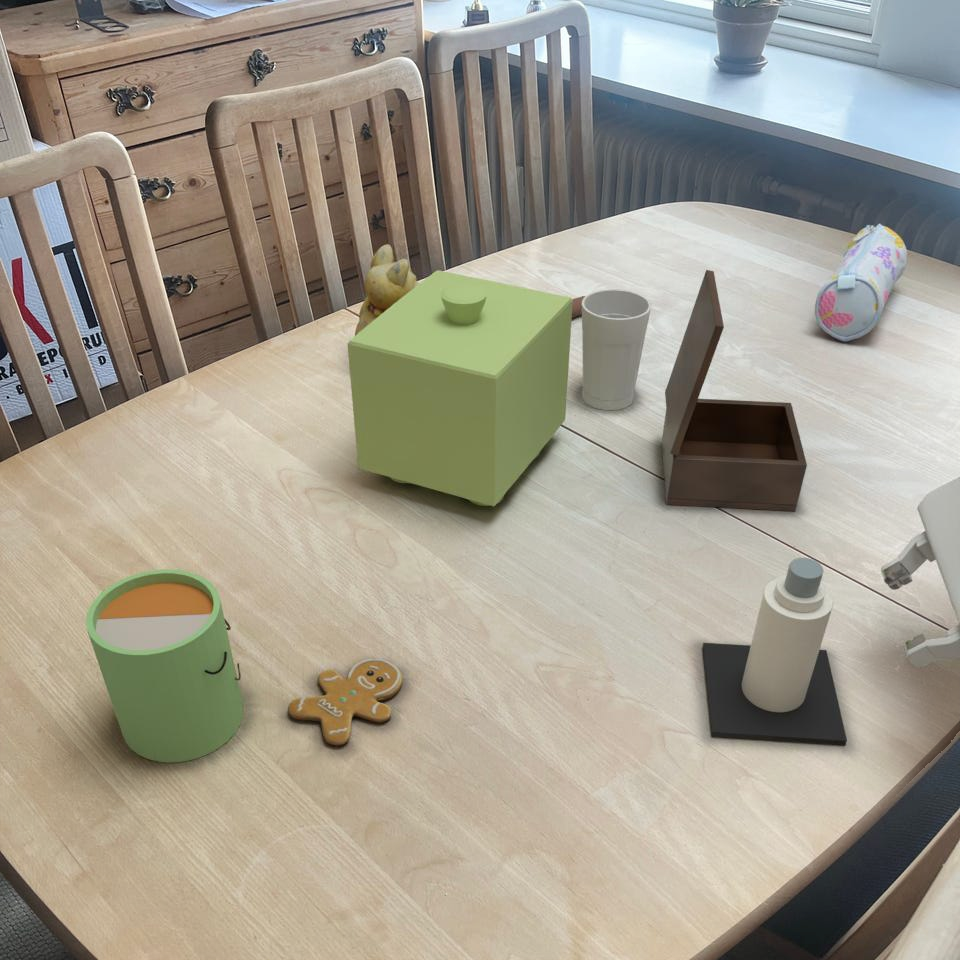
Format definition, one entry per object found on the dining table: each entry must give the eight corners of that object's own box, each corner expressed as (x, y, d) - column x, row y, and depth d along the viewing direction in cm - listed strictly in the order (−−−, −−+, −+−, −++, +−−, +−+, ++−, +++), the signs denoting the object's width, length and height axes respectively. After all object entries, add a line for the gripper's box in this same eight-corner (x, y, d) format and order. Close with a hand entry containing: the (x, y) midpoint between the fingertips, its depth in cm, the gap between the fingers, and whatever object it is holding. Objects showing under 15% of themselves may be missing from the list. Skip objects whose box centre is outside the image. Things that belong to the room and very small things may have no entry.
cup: (630, 378, 132) (640, 286, 124) (648, 410, 126) (660, 316, 118) (568, 383, 131) (574, 291, 123) (584, 416, 125) (591, 321, 117)
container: (440, 406, 127) (435, 242, 113) (564, 438, 121) (575, 270, 108) (359, 487, 114) (343, 313, 100) (494, 526, 109) (497, 348, 95)
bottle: (800, 670, 92) (836, 548, 83) (809, 714, 88) (847, 591, 79) (738, 666, 93) (767, 544, 83) (744, 710, 89) (775, 587, 79)
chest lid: (713, 271, 107) (706, 269, 107) (724, 326, 98) (715, 325, 98) (671, 394, 117) (664, 392, 117) (677, 455, 107) (669, 453, 107)
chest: (780, 447, 120) (791, 402, 116) (795, 511, 111) (807, 465, 107) (661, 441, 121) (667, 396, 117) (666, 504, 112) (673, 458, 108)
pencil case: (839, 279, 154) (854, 214, 147) (899, 291, 151) (918, 224, 144) (805, 338, 140) (820, 269, 133) (871, 352, 137) (890, 282, 131)
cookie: (275, 700, 89) (360, 639, 94) (276, 708, 89) (360, 647, 95) (342, 749, 85) (427, 682, 90) (343, 756, 85) (427, 690, 91)
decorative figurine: (435, 373, 133) (432, 257, 123) (379, 392, 129) (371, 274, 119) (396, 344, 139) (389, 230, 128) (341, 361, 135) (330, 246, 125)
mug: (242, 758, 85) (218, 651, 77) (111, 766, 85) (73, 658, 77) (254, 653, 95) (234, 547, 86) (137, 659, 94) (105, 553, 86)
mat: (825, 654, 95) (826, 649, 94) (845, 745, 86) (847, 740, 86) (702, 647, 95) (703, 642, 95) (711, 736, 87) (712, 731, 87)
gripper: (1009, 423, 83) (853, 517, 91) (1095, 587, 68) (901, 683, 76) (1046, 474, 86) (892, 560, 93) (1137, 641, 71) (945, 729, 78)
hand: (896, 616), depth 84 cm, fingers open, 8 cm apart
